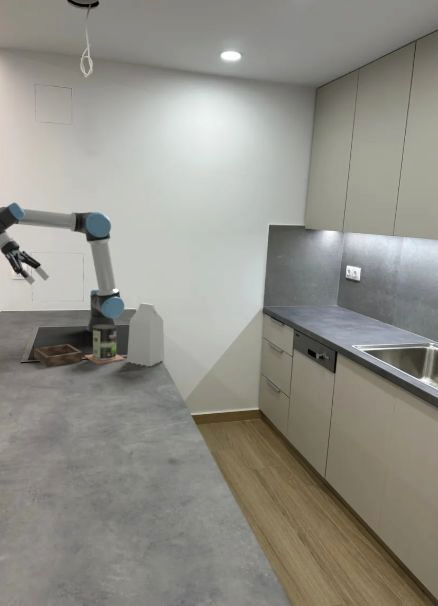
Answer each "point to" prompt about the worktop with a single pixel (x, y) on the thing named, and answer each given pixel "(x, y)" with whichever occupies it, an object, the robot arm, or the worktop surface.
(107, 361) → the tile
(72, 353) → the tray
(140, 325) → the milk
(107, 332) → the coffee can
